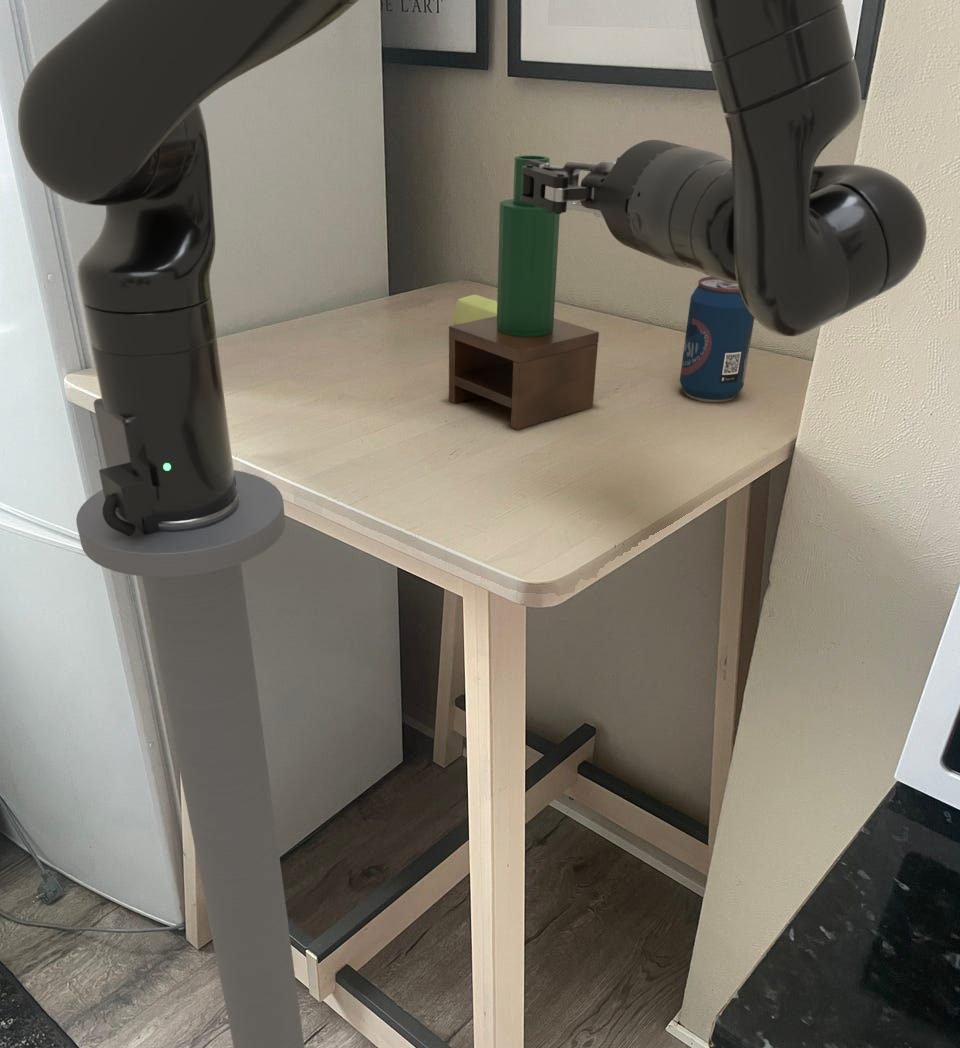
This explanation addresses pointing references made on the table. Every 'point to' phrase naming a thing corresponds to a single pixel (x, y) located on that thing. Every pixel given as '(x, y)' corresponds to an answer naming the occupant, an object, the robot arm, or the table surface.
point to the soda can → (716, 342)
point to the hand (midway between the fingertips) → (573, 172)
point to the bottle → (526, 263)
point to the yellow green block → (474, 309)
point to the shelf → (524, 369)
